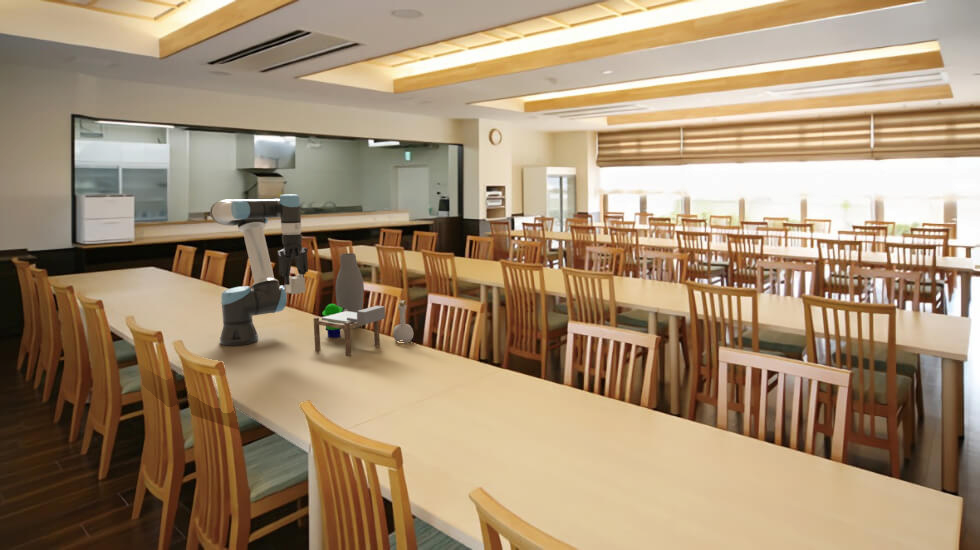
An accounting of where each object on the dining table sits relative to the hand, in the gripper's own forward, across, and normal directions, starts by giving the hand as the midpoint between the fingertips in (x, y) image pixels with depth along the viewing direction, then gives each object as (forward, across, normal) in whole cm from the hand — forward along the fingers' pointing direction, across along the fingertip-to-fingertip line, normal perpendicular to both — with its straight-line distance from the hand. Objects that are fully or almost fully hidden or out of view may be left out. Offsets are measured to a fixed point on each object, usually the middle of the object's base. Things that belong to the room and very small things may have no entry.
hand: (295, 291), depth 233 cm
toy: (+25, +23, +4) cm, 34 cm away
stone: (0, 0, 0) cm, 0 cm away
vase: (+25, +41, +10) cm, 49 cm away
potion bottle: (+25, +33, -28) cm, 50 cm away
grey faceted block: (+12, +14, -18) cm, 26 cm away
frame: (+25, +14, -14) cm, 32 cm away
